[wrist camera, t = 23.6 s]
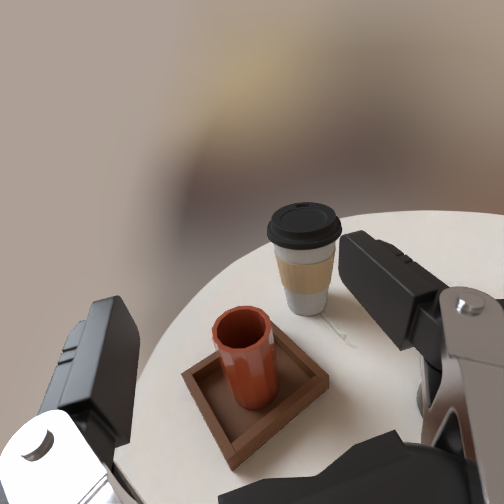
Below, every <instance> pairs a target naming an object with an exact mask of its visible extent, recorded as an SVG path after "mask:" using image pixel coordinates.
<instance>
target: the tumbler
mask: <svg viewBox="0 0 504 504" xmlns="http://www.w3.org/2000/svg"><path fill="white" fill-rule="evenodd" d="M212 340H213V343H214V346H215V349H216V352H217V355H218V358H219V361H220V364H221V367H222V370H223V373H224V376H225V379H226V381H227V384H228V387H229V390H230V393H231V395H232V397H233V399H234V401H235V402H236V403H237V404H238V405H239V406H241V407H243V408H245V409H249V410H258V409H262V408H264V407H266V406H268V405H269V404H271V403H272V402H273V401H274V399H275V398H276V396H277V394H278V392H279V387H280V378H279V372H278V365H277V358H276V352H275V345H274V338H273V331H272V325H271V322H270V318H269V316H268V315H267V314H266V313H265V312H264V311H263V310H262V309H259V308H256V307H253V306H238V307H235V308H232V309H230V310H227V311H225V312H224V313H223V314H222V315H221V316H219V317H218V318H217V320H216V322H215V324H214V326H213V327H212Z"/></svg>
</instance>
